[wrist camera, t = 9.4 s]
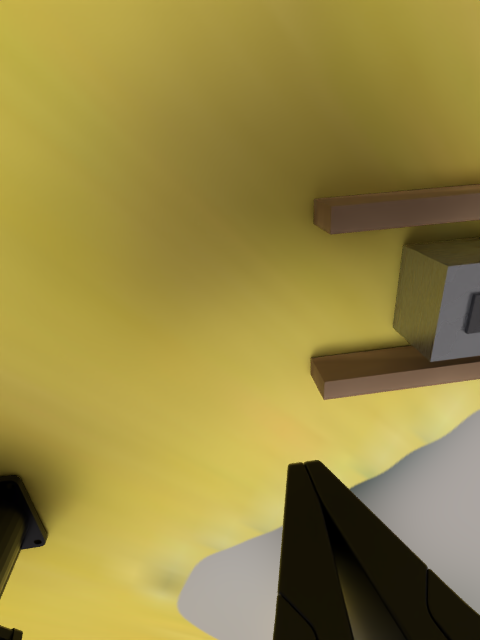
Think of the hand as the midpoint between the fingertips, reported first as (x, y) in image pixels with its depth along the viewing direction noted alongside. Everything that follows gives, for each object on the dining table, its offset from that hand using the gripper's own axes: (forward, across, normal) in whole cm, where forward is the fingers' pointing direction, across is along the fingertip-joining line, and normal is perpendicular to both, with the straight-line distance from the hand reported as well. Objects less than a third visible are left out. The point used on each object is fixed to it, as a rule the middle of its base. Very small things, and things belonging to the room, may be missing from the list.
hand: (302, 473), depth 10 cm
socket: (+12, -11, 0) cm, 16 cm away
